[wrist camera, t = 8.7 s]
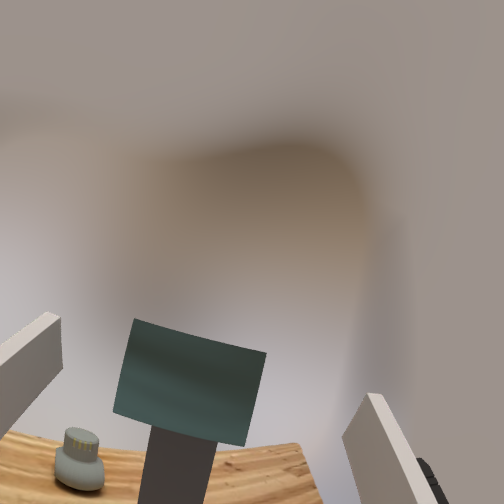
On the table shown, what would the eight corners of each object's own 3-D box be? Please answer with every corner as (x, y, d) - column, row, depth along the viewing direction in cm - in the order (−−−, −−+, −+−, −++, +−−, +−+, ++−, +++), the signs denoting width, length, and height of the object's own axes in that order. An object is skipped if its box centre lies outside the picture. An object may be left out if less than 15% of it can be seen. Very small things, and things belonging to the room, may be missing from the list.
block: (244, 446, 8) (266, 352, 9) (112, 412, 8) (134, 318, 9) (219, 373, 32) (225, 347, 33) (183, 364, 32) (190, 338, 33)
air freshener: (55, 461, 37) (59, 416, 41) (96, 472, 41) (103, 428, 44) (54, 491, 28) (57, 440, 31) (104, 502, 32) (110, 453, 35)
